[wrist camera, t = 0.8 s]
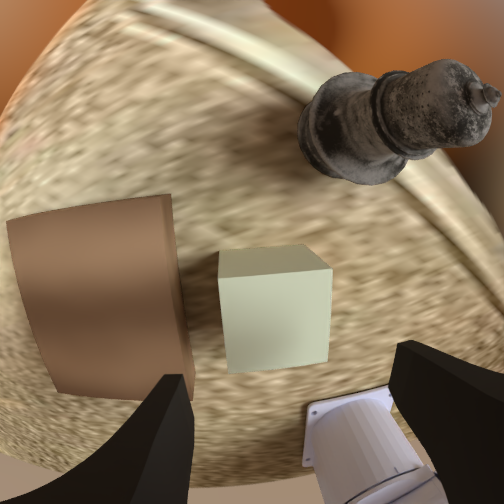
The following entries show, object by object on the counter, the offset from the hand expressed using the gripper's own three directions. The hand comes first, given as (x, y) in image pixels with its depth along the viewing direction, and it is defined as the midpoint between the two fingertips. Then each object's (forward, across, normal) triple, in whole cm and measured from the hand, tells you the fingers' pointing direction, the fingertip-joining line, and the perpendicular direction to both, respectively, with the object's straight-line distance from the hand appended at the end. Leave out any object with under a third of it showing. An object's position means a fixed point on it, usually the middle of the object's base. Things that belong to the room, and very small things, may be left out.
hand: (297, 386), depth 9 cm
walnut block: (+9, +10, 0) cm, 14 cm away
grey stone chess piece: (+10, -5, -9) cm, 14 cm away
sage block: (+10, 0, 0) cm, 10 cm away
